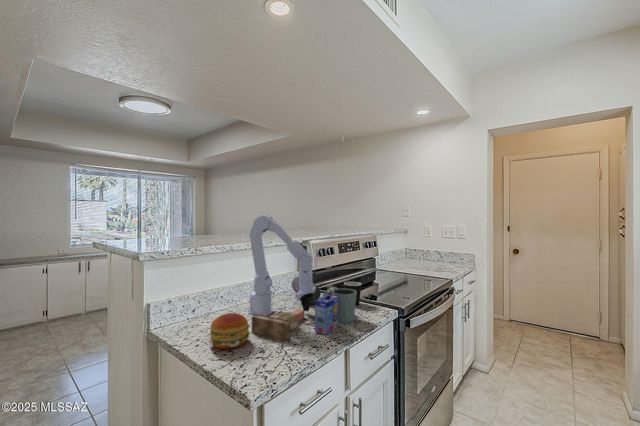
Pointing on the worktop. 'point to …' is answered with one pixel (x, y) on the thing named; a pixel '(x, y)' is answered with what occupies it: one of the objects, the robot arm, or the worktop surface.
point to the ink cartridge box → (326, 314)
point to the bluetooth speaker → (296, 288)
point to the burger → (229, 331)
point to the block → (286, 318)
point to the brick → (299, 314)
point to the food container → (329, 290)
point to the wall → (271, 327)
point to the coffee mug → (354, 286)
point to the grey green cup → (345, 304)
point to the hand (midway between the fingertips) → (306, 310)
